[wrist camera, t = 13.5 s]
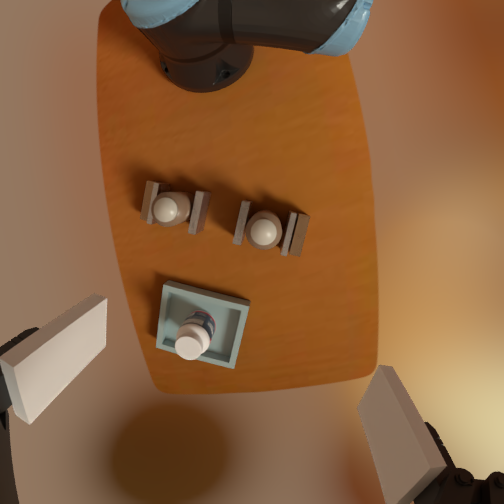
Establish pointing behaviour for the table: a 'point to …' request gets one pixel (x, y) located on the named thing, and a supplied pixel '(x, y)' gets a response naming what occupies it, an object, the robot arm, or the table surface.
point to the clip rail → (200, 216)
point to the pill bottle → (195, 334)
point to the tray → (218, 305)
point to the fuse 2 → (264, 230)
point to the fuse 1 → (172, 208)
